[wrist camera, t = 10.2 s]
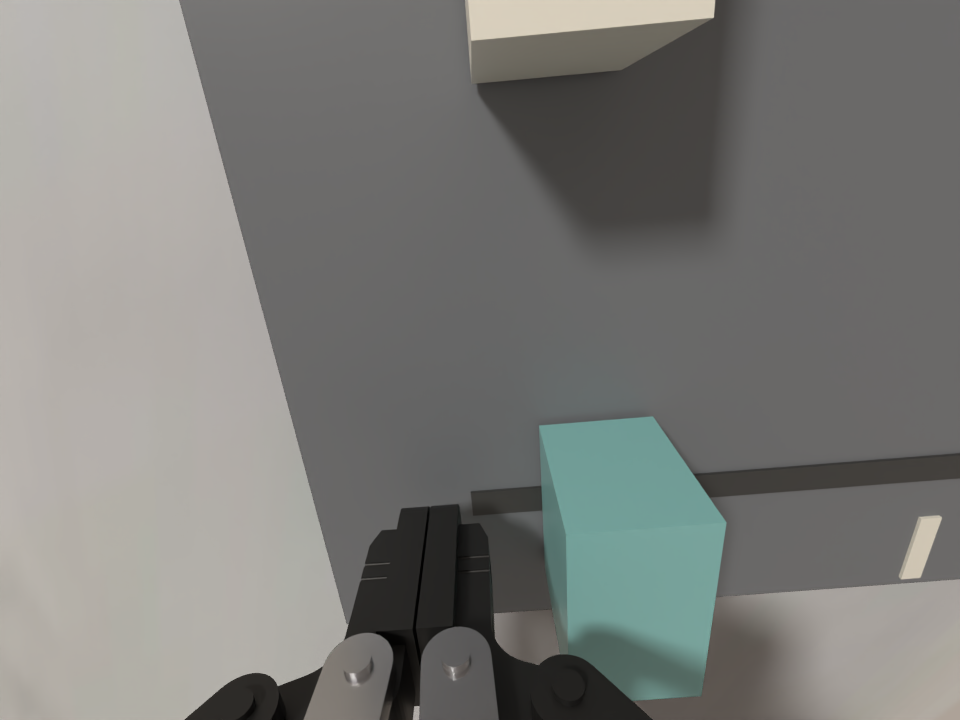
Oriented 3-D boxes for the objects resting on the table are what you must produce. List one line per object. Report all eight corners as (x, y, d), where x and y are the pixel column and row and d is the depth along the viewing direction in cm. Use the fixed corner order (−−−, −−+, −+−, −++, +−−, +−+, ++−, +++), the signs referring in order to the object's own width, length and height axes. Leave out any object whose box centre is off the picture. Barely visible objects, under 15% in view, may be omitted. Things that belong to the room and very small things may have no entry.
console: (1478, -395, 10) (1906, -629, 7) (1056, 501, 18) (1165, 567, 15) (179, -256, 10) (63, -419, 7) (365, 554, 19) (346, 626, 16)
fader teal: (652, 416, 13) (726, 522, 9) (643, 560, 15) (701, 696, 11) (539, 425, 13) (566, 534, 9) (544, 567, 15) (568, 705, 11)
